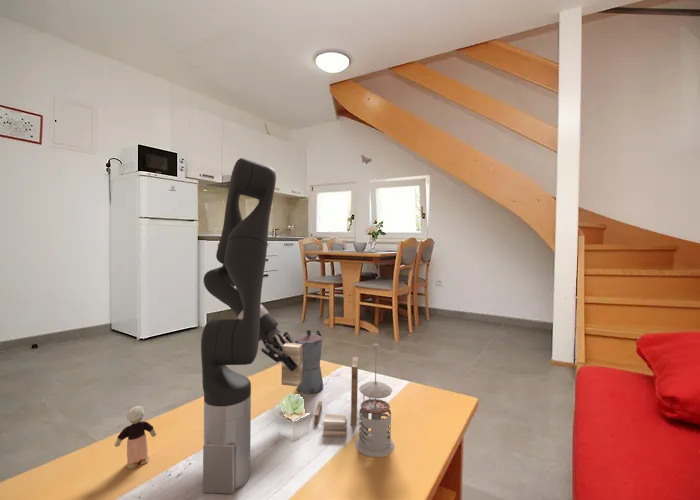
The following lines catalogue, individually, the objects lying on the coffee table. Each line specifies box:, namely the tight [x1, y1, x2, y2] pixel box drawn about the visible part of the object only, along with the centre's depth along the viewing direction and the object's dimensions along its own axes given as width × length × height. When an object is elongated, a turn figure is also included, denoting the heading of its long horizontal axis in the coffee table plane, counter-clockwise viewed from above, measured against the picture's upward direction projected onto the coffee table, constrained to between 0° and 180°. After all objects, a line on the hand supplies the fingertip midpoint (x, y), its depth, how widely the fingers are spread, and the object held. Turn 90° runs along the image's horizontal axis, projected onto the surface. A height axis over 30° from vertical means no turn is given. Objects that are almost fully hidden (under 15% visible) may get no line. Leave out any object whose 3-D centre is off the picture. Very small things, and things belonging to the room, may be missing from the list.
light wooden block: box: [281, 342, 303, 387], centre depth 95 cm, size 3×5×11 cm, turn 77°
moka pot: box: [294, 329, 324, 394], centre depth 115 cm, size 10×15×20 cm, turn 163°
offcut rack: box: [313, 356, 359, 427], centre depth 95 cm, size 8×12×16 cm
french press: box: [354, 343, 396, 458], centre depth 83 cm, size 10×12×25 cm
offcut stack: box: [322, 413, 348, 438], centre depth 88 cm, size 4×6×4 cm
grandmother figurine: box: [114, 405, 157, 470], centre depth 74 cm, size 8×4×13 cm, turn 141°
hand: (297, 366), depth 95 cm, fingers closed on light wooden block, 3 cm apart
